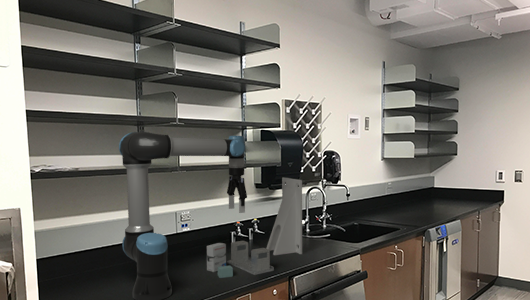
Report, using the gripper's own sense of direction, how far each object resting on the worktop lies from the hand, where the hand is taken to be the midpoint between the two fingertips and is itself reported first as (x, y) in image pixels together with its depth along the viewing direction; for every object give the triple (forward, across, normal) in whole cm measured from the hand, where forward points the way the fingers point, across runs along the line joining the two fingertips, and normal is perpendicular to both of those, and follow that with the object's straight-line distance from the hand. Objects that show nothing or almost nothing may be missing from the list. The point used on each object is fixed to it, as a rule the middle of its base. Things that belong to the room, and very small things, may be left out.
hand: (236, 210), depth 204 cm
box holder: (+27, -5, -5) cm, 28 cm away
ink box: (+27, -1, +11) cm, 29 cm away
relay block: (+27, -12, +11) cm, 32 cm away
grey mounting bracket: (+27, +14, -32) cm, 44 cm away
